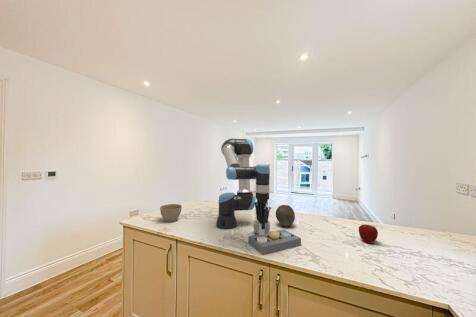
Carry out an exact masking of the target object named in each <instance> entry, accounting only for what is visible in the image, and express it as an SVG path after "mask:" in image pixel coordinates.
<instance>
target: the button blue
mask: <svg viewBox="0 0 476 317" xmlns="http://www.w3.org/2000/svg"><path fill="white" fill-rule="evenodd" d="M289 232H290V231H288V232H282V233H281V236H283V237H284V238H288V237H291V233H292V232H290V233H289Z"/></svg>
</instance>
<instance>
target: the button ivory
mask: <svg viewBox="0 0 476 317" xmlns="http://www.w3.org/2000/svg"><path fill="white" fill-rule="evenodd" d="M257 242H259V243H260V244H261V243H265V242H267V238H265V237H258V238H257Z"/></svg>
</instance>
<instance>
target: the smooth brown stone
mask: <svg viewBox="0 0 476 317" xmlns="http://www.w3.org/2000/svg"><path fill="white" fill-rule="evenodd" d="M275 218H276V220H277V221H278V223H279V224H280V225H282V226H283V227H291V226H292V225H293V224H294V222H295V220H296V219H295V218H296V214H295V211H294V209H293V207H292V206H290V205H288V204H287V205H286V204H281V205H279V206H278V207H277V208H276V210H275Z"/></svg>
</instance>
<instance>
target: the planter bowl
mask: <svg viewBox="0 0 476 317" xmlns="http://www.w3.org/2000/svg"><path fill="white" fill-rule="evenodd" d="M182 207H183V206H182V205H181V204H179V203H178V204H176V203H170V204H169V203H168V204H164V205H162V206H160V207H159V209H160V216H161V217H162V219H163V220H164V222H166V221H167V222H166V223H173V222H172V221H174V222H176V221H178V218H179V217H180V215H181V213H182Z"/></svg>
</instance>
